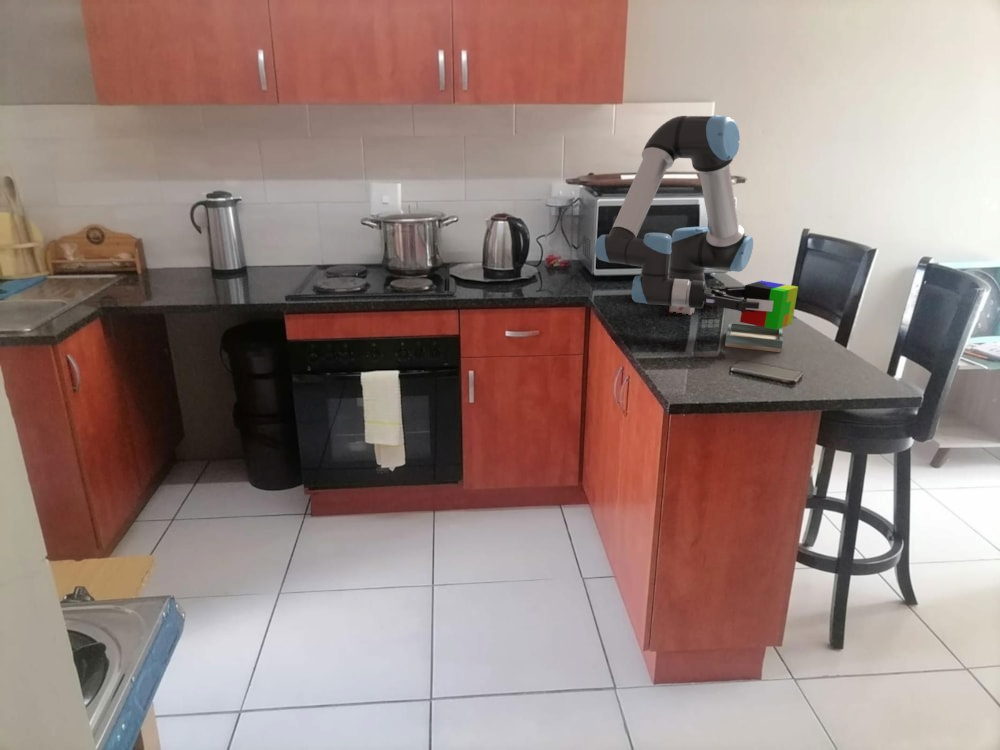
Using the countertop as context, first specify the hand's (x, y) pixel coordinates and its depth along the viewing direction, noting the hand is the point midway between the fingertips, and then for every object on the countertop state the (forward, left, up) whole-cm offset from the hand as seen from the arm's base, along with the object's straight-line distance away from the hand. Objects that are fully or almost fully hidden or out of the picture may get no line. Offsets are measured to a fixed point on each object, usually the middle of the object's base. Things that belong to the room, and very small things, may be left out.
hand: (773, 300), depth 186 cm
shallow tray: (0, -4, -12) cm, 12 cm away
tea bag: (-26, -26, -12) cm, 38 cm away
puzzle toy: (+1, -1, -6) cm, 6 cm away
